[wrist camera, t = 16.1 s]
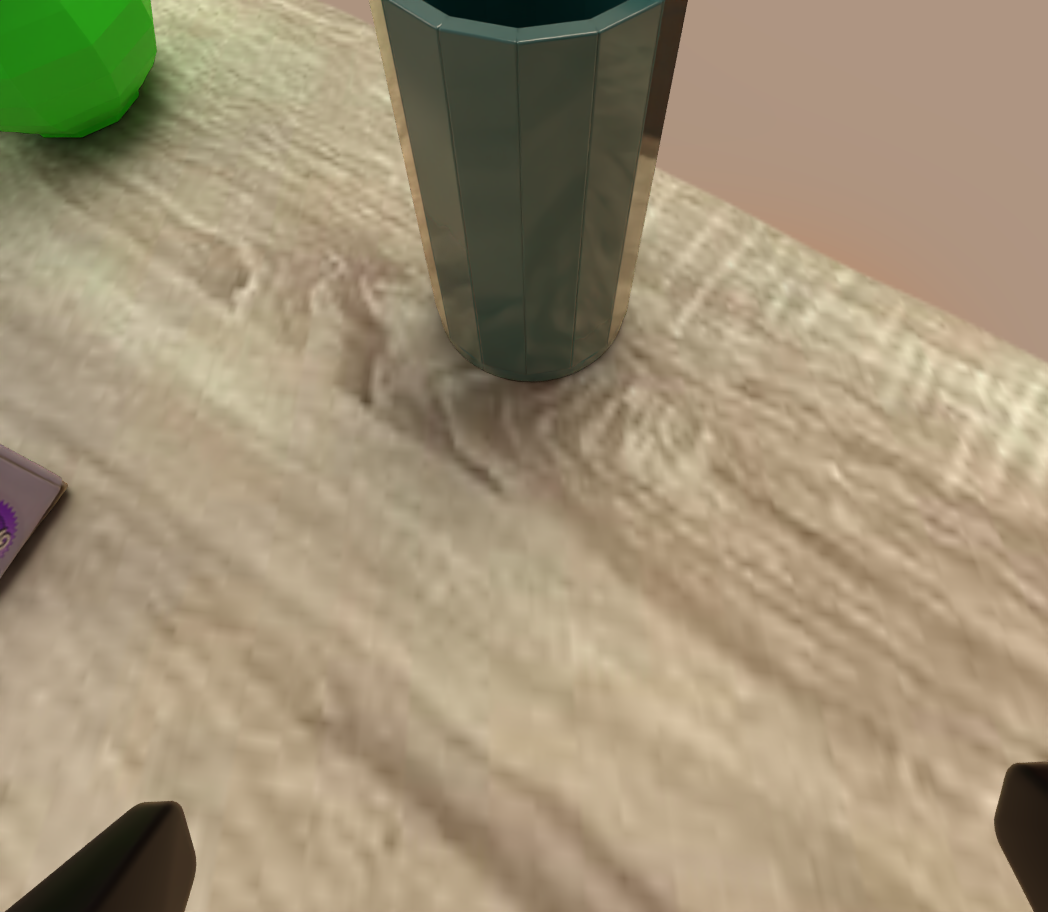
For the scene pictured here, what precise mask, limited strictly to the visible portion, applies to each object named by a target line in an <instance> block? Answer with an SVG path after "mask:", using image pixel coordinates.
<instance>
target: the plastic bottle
mask: <svg viewBox="0 0 1048 912" xmlns="http://www.w3.org/2000/svg"><path fill="white" fill-rule="evenodd" d="M156 52H157V49H156V41H155V33H154V25H153V17H152V9H151V1H150V0H0V131H2V132H19V133H27V134H40V135H41V136H42V137H44V138H51V137H84V136H86V135H89V134H91V133H93V132H95V131H98V130H100V129H102V128H104V127H107V126H109V125H111V124H113V123H116V122H118V121H119V120H120V119H121V117H122V116H123V115H124V114H125V113H126V111H127V110H128V109H129V108H130V106H131V105H132V104H133V103H134V101H135V100H136V99H137V98H138V96H139V91H138V89H139V88H140V87H141V86H142V84H143V82H144V80H145V78H146V76H147V74H148V73H149V71H150V70H151V68H152V66H153V63H154V59H155V56H156Z"/></svg>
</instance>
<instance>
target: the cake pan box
mask: <svg viewBox="0 0 1048 912" xmlns="http://www.w3.org/2000/svg"><path fill="white" fill-rule="evenodd" d="M67 487H68V484H67V483H66V482H64V481H62V478H61V477H60V476H58V475H56V474H54V473H53V472H51V471H49V470H47V469H45V468H43V467H42V466H40V465H38V464H36V463H34V462H32V461H31V460H29V459H27V458H25V457H23V456H21V455H20V454H18V453H16V452H14V451H12V450H11V449H9V448H7V447H5V446H3V445H1V444H0V578H1V577H2V575H3V574H4V572H5V571H6V569H7V568H8V566H9V565H10V564H11V562H12V561H13V559H14V558H15V556H16V555H17V553H18V552H19V550H20V549H21V548H22V546H23V545H24V544H25V542H26V541H27V540H28V539H29V537H30V536H31V535H32V533H33V532H34V531H35V529H36V528H37V527H38V525H39V524H40V523H41V521H42V520H43V519H44V518H45V517H46V515H47V514H48V513H49V512H50V510H51V509H52V508H53V507H54V505H55V504H56V502H57V501H58V500H59V498H60V497H61V495H62V494H63V493H64V491H65V490H66V489H67Z"/></svg>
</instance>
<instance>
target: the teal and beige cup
mask: <svg viewBox="0 0 1048 912" xmlns="http://www.w3.org/2000/svg"><path fill="white" fill-rule="evenodd" d="M687 2H688V0H369V3H370V8H371V12H372V17H373V21H374V26H375V31H376V35H377V40H378V44H379V49H380V53H381V58H382V62H383V67H384V71H385V76H386V81H387V85H388V90H389V94H390V99H391V103H392V108H393V112H394V117H395V122H396V126H397V131H398V135H399V140H400V144H401V149H402V153H403V158H404V162H405V167H406V172H407V176H408V181H409V185H410V190H411V194H412V199H413V203H414V208H415V213H416V217H417V222H418V226H419V231H420V235H421V240H422V244H423V249H424V253H425V258H426V263H427V267H428V272H429V276H430V281H431V285H432V290H433V294H434V299H435V304H436V307H437V309H438V312H439V314H440V317H441V321H442V324H443V327H444V330H445V333H446V334H447V336H448V338H449V340H450V342H451V343H452V344H453V346H454V347H455V348H456V350H457V351H458V352H459V353H460V354H461V355H462V356H463V357H464V358H466V359H467V360H468V361H469V362H471V363H472V364H473V365H475V366H477V367H478V368H480V369H482V370H484V371H486V372H488V373H490V374H493V375H495V376H499V377H502V378H505V379H510V380H516V381H529V382H535V381H547V380H553V379H558V378H561V377H564V376H568V375H570V374H573V373H575V372H577V371H580V370H581V369H583V368H585V367H587V366H588V365H590V364H591V363H593V362H594V361H595V360H596V359H598V358H599V357H600V356H601V355H602V354H603V353H604V352H605V351H606V350H607V349H608V348H609V347H610V345H611V344H612V342H613V341H614V340H615V338H616V336H617V334H618V332H619V330H620V327H621V324H622V322H623V318H624V316H625V315H626V312H627V308H628V303H629V298H630V293H631V287H632V282H633V277H634V272H635V267H636V262H637V257H638V252H639V247H640V242H641V236H642V231H643V226H644V221H645V216H646V211H647V206H648V201H649V196H650V191H651V186H652V180H653V175H654V170H655V165H656V160H657V155H658V150H659V145H660V140H661V135H662V129H663V124H664V119H665V114H666V109H667V104H668V99H669V94H670V89H671V83H672V79H673V73H674V68H675V63H676V58H677V52H678V48H679V42H680V37H681V33H682V28H683V22H684V17H685V12H686V7H687Z"/></svg>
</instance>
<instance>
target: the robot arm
mask: <svg viewBox="0 0 1048 912" xmlns="http://www.w3.org/2000/svg"><path fill="white" fill-rule="evenodd" d="M994 826H995V832H996V836H997V839H998V842H999V844H1000V846H1001V848H1002V850H1003V852H1004V854H1005V856H1006V858H1007V860H1008V862H1009V864H1010V866H1011V868H1012V870H1013V872H1014V874H1015V876H1016V878H1017V880H1018V882H1019V884H1020V885H1021V887H1022V889H1023V891H1024V893H1025V895H1026V897H1027V899H1028V901H1029V903H1030V905H1031V907H1032V909H1033V911H1034V912H1048V762H1028V763H1016V764H1013V765H1012V766H1011V767H1009V769H1008V770H1007V772H1006V775H1005V778H1004V782H1003V786H1002V790H1001V794H1000V798H999V801H998V805H997V809H996V813H995V818H994ZM195 871H196V855H195V851H194V847H193V843H192V840H191V836H190V833H189V829H188V826H187V822H186V819H185V815H184V812H183V809H182V807H181V806H180V805H179V804H178V803H177V802H174V801H162V802H144V803H140V804H138V805H136V806H134V807H133V808H131V809H130V810H129V811H127V812H126V813H125V814H124V815H122V816H121V817H120V818H119V819H118V820H116V821H115V822H114V823H113V824H111V825H110V826H109V827H108V828H107V829H105V830H104V831H103V832H102V833H100V834H99V835H98V836H97V837H96V838H94V839H93V840H92V841H91V842H89V843H88V844H87V845H86V846H85V847H83V848H82V849H81V850H80V851H78V852H77V853H76V854H75V855H74V856H72V857H71V858H70V859H69V860H67V861H66V862H65V863H64V864H63V865H61V866H60V867H59V868H58V869H56V870H55V871H54V872H53V873H52V874H50V875H49V876H48V877H47V878H46V879H44V880H43V881H42V882H41V883H39V884H38V885H37V886H36V887H35V888H33V889H32V890H31V891H30V892H28V893H27V894H26V895H25V896H24V897H22V898H21V899H20V900H19V901H17V902H16V903H15V904H14V905H13V906H11V907H10V908H9V909H8V910H6V911H5V912H184V911H185V908H186V905H187V901H188V898H189V895H190V891H191V888H192V885H193V881H194V877H195Z"/></svg>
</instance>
